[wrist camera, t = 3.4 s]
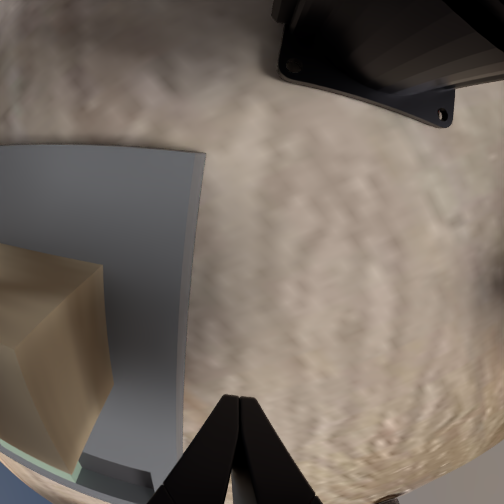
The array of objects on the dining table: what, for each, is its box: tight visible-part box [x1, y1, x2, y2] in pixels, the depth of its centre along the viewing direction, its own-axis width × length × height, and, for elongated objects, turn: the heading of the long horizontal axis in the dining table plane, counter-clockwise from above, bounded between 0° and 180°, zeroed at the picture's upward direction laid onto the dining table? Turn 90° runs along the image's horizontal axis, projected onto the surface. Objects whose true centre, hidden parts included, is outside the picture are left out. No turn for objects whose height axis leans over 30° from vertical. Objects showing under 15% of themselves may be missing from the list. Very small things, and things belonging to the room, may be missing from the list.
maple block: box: [0, 243, 114, 475], centre depth 7 cm, size 5×5×4 cm
